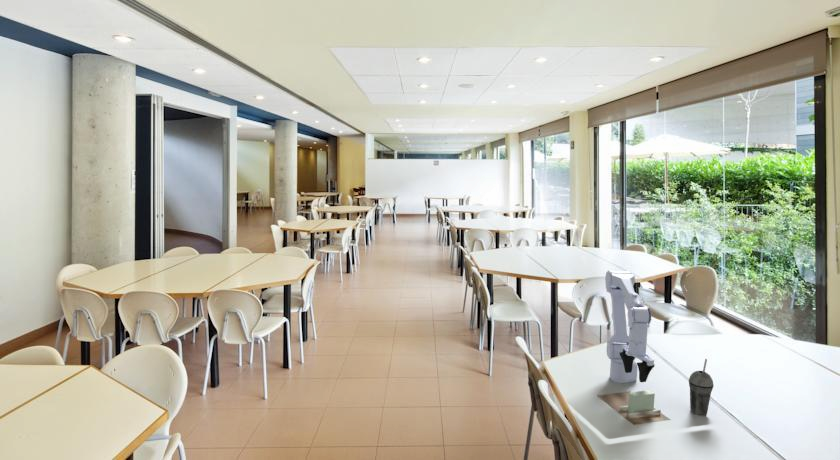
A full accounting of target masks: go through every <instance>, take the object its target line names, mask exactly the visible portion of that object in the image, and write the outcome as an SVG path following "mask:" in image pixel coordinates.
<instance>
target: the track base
mask: <svg viewBox="0 0 840 460" xmlns="http://www.w3.org/2000/svg"><path fill="white" fill-rule="evenodd" d="M630 392H631V391H629V390H628V391H622V392H614V393H605V394H597V395H596V396H597V398H599V399H601V400H602V401H603V402H604V403H605V404H607V405H608V406H609V407H611V408H612V409H613V410H614V411H616V412H617V413H618V414H619V415H621V416H622V417H623V418H625V419H626V420H627V421H629V422H630V423H631V424H632V425H634V426H636V425H641V424H647V423H648V424H649V423H655V422H657V423H658V422H663V421H670V420H671V418H670V417H668V416H667V415H665V414H664V413H662V412H661V409H656V407H654V410H651V411H644V412H636V413H628V402H629V393H630Z"/></svg>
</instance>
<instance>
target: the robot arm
mask: <svg viewBox="0 0 840 460" xmlns="http://www.w3.org/2000/svg"><path fill="white" fill-rule="evenodd" d="M604 278H605V279H604V280H605V289H606V292H607V293H609V294H610V297H611V309H612V311H611V312H612V321H613V325H612V326H613V335H612V336H610V337H609V338H608V339H607V341H606V356H607V358H608V359H610V367H609V379H610V380H611V381H613V382H615V383H620V384H628V383H632V382H637V381H638V380H639V382H640V383H646V382H647V380H648V377H649V375H650V373H651V371H652V370H653V368H654V367H655V360H654V359H653V358H652V357H650V355H649V354H648V353H647V342H648V328H649V327H648V326H649V324H651V322H652V312H651V308H650V307H649V306H647V305H645V304H644V302H643V300H642V297H641V296H640V295H639V294H638V293H636V292H635V288H634V285H635V282H636V280H635V279H636V276H635V274H634V272H633V271H632V270H629V271H628V270H626V271H625V270H624V271H623V270H610V269H608V270H607V271H606V273H605V277H604ZM626 309H627V315H626ZM626 316H627V318H626ZM627 320H628V322H627ZM627 324H628V326H627ZM627 327H629V329H627ZM628 330H629V332H628V333H627V331H628ZM636 358H637V360H640V361H641V362H637V363H636V361H635V360H636ZM638 375H639V376H638ZM638 377H639V379H638Z"/></svg>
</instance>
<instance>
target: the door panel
mask: <svg viewBox="0 0 840 460" xmlns="http://www.w3.org/2000/svg"><path fill="white" fill-rule="evenodd" d="M655 396H656V395H655V392H653V391H651V390H650V389H648V390H647V389H646V390H640V391H630V393H629V402H628V413H636V412H644V411H651V410H654V408H655Z"/></svg>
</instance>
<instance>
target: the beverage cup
mask: <svg viewBox="0 0 840 460" xmlns="http://www.w3.org/2000/svg"><path fill="white" fill-rule="evenodd" d="M707 361H708V359H707V358H705V359H704V364H703V369H702V370H696V371H693V372H692V373H690V375H689V379H688V386H689V400H690V401H689V402H690V403H689V408H690V412H691V413H692V414H693V415H697V416H700V417H701V416H703V417H707V415H708V411H709V410H708V409H709V404H710V401H711V395H712V394H711V393H712V392H713V389H714V382H713V378H712V376H711V375H710V374H709V373H707V372H706V367H707Z"/></svg>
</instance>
